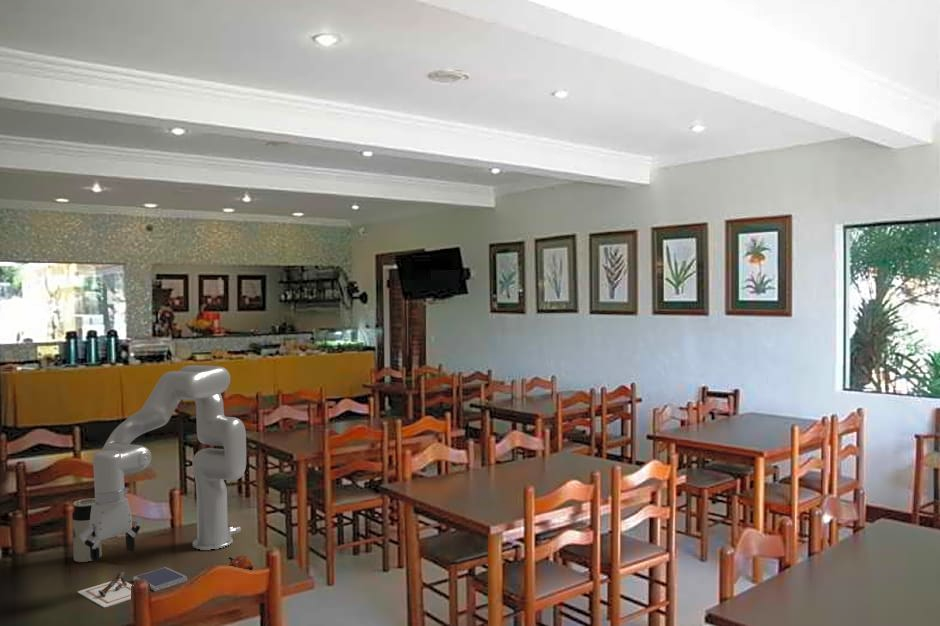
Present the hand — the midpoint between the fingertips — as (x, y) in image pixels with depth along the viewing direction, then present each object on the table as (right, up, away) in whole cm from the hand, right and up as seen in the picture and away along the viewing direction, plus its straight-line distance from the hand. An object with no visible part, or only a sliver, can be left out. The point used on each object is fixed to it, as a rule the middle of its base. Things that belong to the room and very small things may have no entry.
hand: (113, 555), depth 219 cm
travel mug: (-20, -9, +27) cm, 35 cm away
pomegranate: (+33, -10, +8) cm, 36 cm away
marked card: (0, -10, 0) cm, 10 cm away
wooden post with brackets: (0, -10, 0) cm, 10 cm away
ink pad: (+10, -10, +8) cm, 16 cm away
